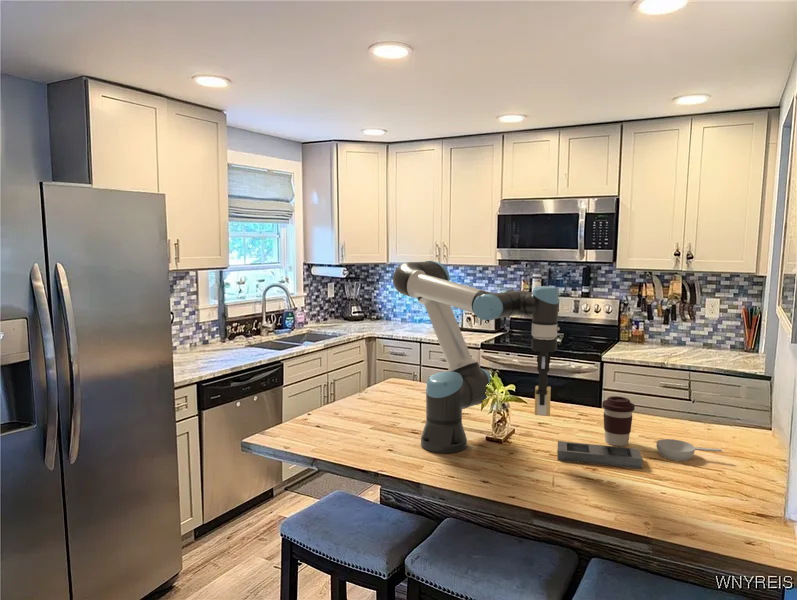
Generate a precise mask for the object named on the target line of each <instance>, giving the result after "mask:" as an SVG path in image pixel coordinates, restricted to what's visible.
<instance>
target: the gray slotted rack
mask: <svg viewBox="0 0 797 600" xmlns="http://www.w3.org/2000/svg"><path fill="white" fill-rule="evenodd" d="M556 455H557V461H562V462H573V463H579V464H581V463H583V464H591V465H601V466H602V465H603V466H610V467H611V466H612V467H620V468H629V469H637V470H643V462H644V461H643V460H644V459H643V457H642V454H641V451H640V449H639V448H636V447H635V448H634V447H626V446H614V445H602V444H595V443H593V444H592V443H583V442H582V443H581V442H569V441H562V440H561V441H560V440H557V454H556Z"/></svg>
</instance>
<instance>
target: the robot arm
mask: <svg viewBox="0 0 797 600" xmlns="http://www.w3.org/2000/svg"><path fill="white" fill-rule="evenodd" d="M450 276H451V275H450V272H449V271H448V269H447V267H446V265H444V264H443V263H441V262H438V261H434V260H433V261H432V260H425V261H409V262H407V261H406V262H404V263H401V264H400V265H398V266H397V268H395V270H394V272H393V275H392V283H393V286H394V288H395V290H396V291H397V292H398V293H400V294H401V295H403V296H407V297H410V298H414V299H417V301H418V303H419V304H420V305H423V306H424V307H425V309H426V310H425V311H426V312H427V315H428V317H429V321H430V322H431V325H432V327H433V330H434V332H435V335H436V338H437V341H438V343H439V345H440V349H441V350H442V354H443V357H444V358H445V362H446V364H447V366H448V369H447V371H446V370H445V371H439V372H436V373H433V374H432V375H430V376H429V377H428V378H427V380H426V388H425V395H426V396H425V397H426V399H425V400H426V402H425V404H426V408H425V410H426V411H425V412H426V414H425V415H426V420H425V425H424V428H423V430H422V434H421V436H420V446H421V447H422V448H423V449H424V450H426V451H429V452H433V453H437V454H453V453H454V454H455V453H459V452H461V451H462V452H463V451H464V450H465V449H466V448H467V447H468V437H467V434H466V431H465V429H464V426H463V410H464V409H468V408H471V407H474V406H477V405H480V404H482V403H483V402H482V400H484V399H486V398H487V396H486V394H485V392H486V388H487V387H485V386H486V385H487V384H488V383H490V380H491V378H492V376H491V374H490V373H489V372H488V371H487V370H485V369H484V368H481V366H480V364H479V362H478V361H477V360H475V359H473V358H472V355H471V353H470V351H469V348H468V345H467V343H466V341H465V338H464V336H463V334H462V333H463V332H462V331H461V329H460V325H459V323H458V321H457V319H456V316H455V312H454V311H453V308H456V309H459V310H462V311H466V312H469V313H472V314H474V315H475V316H476V317H477V318H478V319H480V320H483V321H486V320H487V321H492V320H493V321H494V320H497V319H500V318H501V319H502V318H507V317H509V318H510V317H513V316H524V317H531V319H532V321H531V336H532V338H531V350H532V351H533V352H539V354H537V355H536V362H537V371H538V385H537V386H538V392H536V394H538V401H537V415H536V416H540V415H545V416H544V417H547V416H546V409H547V386H548V387H550V385H548V384H549V383H548V372H550V363H551V355H549V353H553V352H556V351H557V350H558V339H557V337H558V331H560V330H561V329H560V326H558V325H559V323H558V322H559V321H558V320H559V306H560V305H559V304H560V301H559V298H560V295H559V289H558V287H555V286H549V285H548V286H547V285H546V286H545V285H544V286H543V285H539V286H534V287H533V289H532V290H533V291H532V292H531V291H520V290H514V289H510V290H509V289H508V290H506V289H503V290H501V291H500V292H497V293H496V292H491V291H487V290H483V289H480V288H475V287H472V286H468V285H465V284H461V283H457V282H454V281H452V280H451V277H450ZM452 307H453V308H452ZM488 385H489V384H488Z"/></svg>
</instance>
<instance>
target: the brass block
mask: <svg viewBox="0 0 797 600" xmlns="http://www.w3.org/2000/svg"><path fill="white" fill-rule="evenodd" d="M548 386H549V385H547V409H546V416H545V415H539V416H541V417H542V416H544V417H550V416H551V389H552V387H551V386H549V387H548ZM534 390H535V391H534V416H538V415H537V401H538V394H536V392H538V385H535V389H534Z"/></svg>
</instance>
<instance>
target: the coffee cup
mask: <svg viewBox="0 0 797 600" xmlns="http://www.w3.org/2000/svg"><path fill="white" fill-rule="evenodd" d="M606 398H607V399H606V400H602V404H601V405H602V406H601V407H602V408H603V410H604V411H603V429H604V441H605V443H607V444H608V445H609V446H615V447H626V446H628V445H629V442H630V441H629V440H630V435H631V430H632V424H633V412H634V411H635V407H636V406H635V404H634V403H632V402H631V400H630V398H627V397H624V396H618V395H617V396H616V395H615V396H613V395H612V396H609V397H606Z"/></svg>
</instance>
